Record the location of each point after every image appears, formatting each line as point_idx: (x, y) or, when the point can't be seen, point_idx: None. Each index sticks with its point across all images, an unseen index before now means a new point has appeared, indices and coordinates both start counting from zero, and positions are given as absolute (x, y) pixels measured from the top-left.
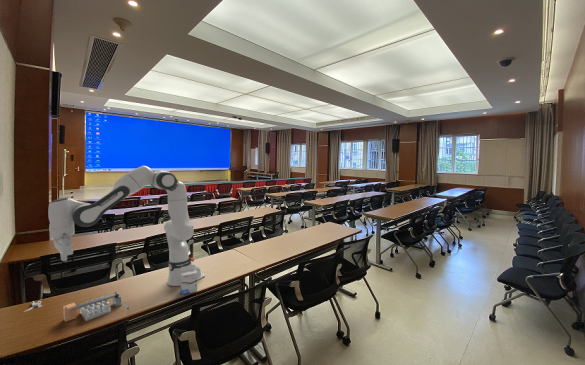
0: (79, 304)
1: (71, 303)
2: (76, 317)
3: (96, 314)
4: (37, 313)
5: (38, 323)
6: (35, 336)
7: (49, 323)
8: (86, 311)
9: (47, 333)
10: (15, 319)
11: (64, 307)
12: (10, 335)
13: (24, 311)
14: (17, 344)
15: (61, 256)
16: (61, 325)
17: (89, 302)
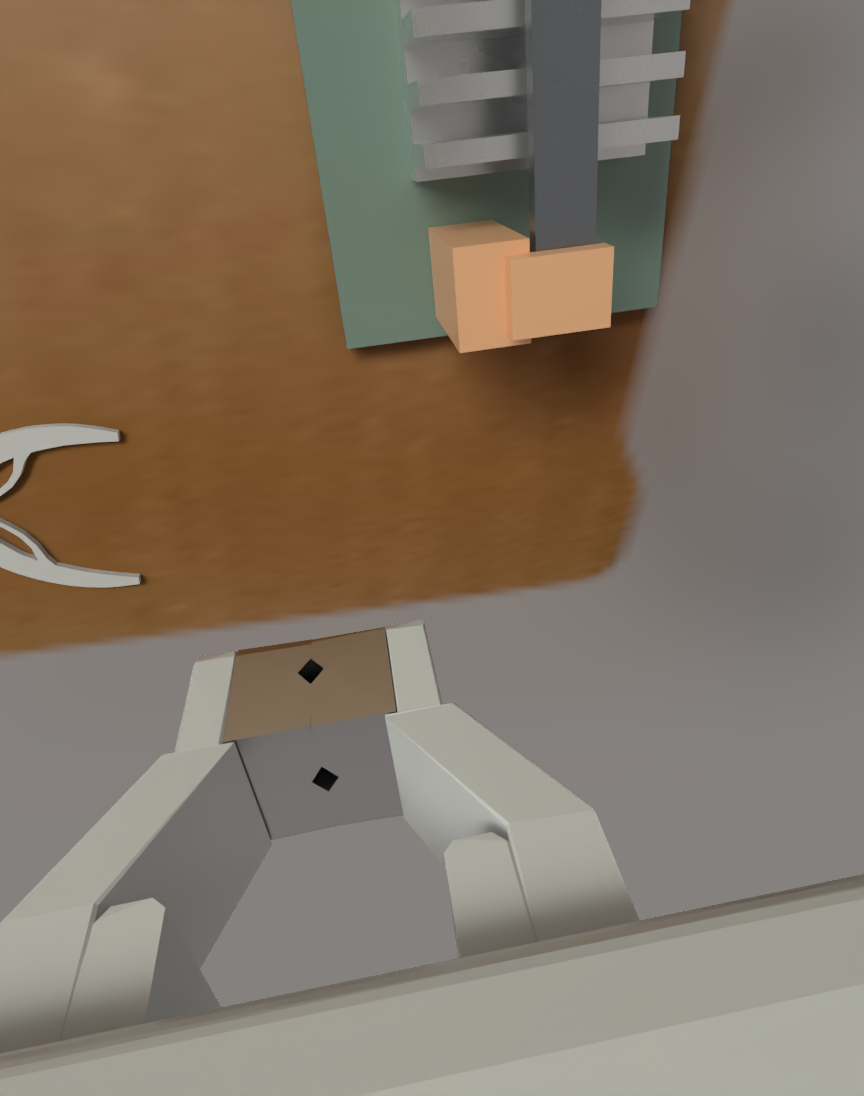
0: (542, 201)
1: (513, 284)
2: (493, 220)
3: (647, 36)
4: (104, 486)
5: (316, 470)
6: (514, 474)
7: (377, 405)
8: (656, 140)
9: (535, 414)
10: (127, 597)
11: (499, 343)
12: (377, 590)
13: (9, 568)
14: (534, 546)
15: (267, 838)
16: None
17: (575, 84)
